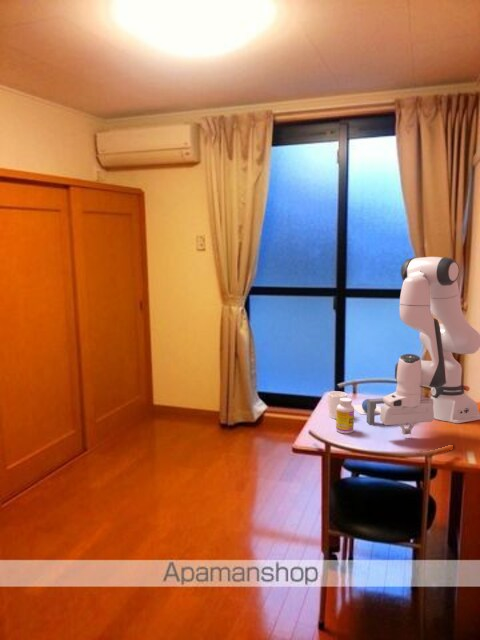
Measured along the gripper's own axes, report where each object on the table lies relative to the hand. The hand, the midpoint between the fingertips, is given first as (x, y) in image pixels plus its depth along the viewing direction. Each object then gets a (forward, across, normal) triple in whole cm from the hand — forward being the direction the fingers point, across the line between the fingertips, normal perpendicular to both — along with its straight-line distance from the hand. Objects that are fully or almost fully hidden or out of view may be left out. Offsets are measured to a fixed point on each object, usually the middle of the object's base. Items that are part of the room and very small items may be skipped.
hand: (406, 433), depth 185 cm
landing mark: (+2, 0, -33) cm, 33 cm away
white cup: (+2, +17, -27) cm, 32 cm away
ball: (-1, +2, -29) cm, 29 cm away
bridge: (+2, 0, -17) cm, 17 cm away
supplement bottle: (+2, +20, -11) cm, 23 cm away
